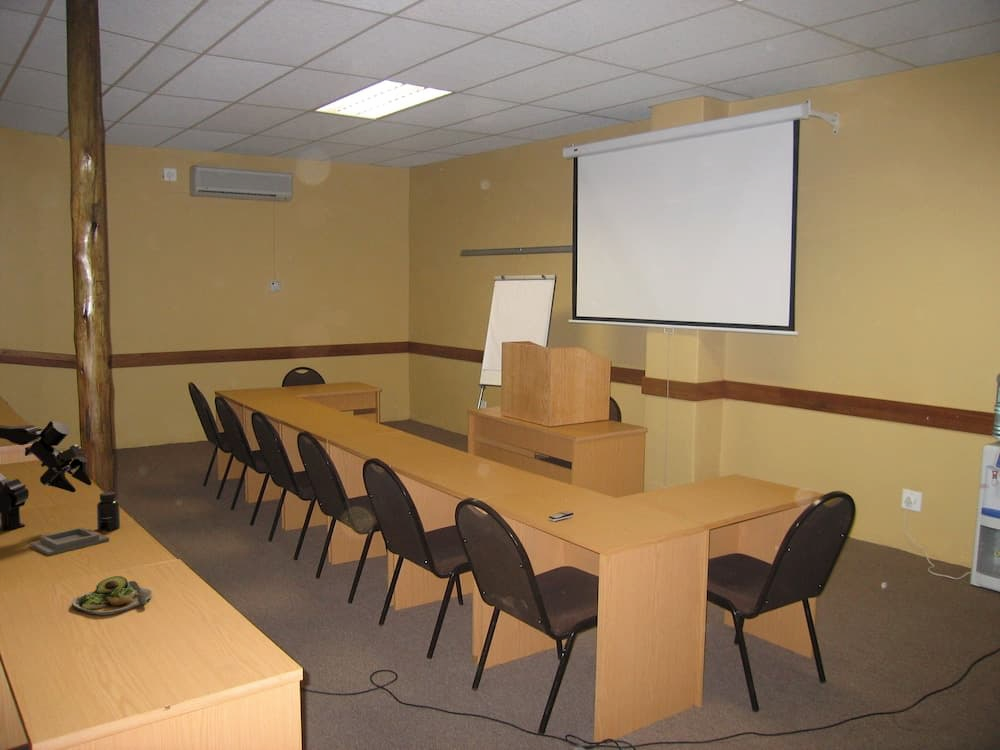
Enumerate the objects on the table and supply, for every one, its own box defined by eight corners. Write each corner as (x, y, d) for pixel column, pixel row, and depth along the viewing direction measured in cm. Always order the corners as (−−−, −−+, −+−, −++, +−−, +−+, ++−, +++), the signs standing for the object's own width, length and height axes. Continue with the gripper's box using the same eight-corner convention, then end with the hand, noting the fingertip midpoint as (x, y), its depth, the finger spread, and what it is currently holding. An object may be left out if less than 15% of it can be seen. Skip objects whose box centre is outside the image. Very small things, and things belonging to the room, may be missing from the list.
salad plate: (173, 599, 202) (172, 582, 202) (110, 624, 187) (109, 606, 186) (126, 585, 212) (125, 568, 211) (62, 608, 196) (61, 590, 196)
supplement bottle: (103, 532, 255) (101, 497, 254) (93, 529, 259) (91, 493, 258) (124, 527, 261) (122, 493, 259) (114, 524, 265) (112, 489, 263)
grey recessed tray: (29, 546, 242) (29, 538, 242) (89, 532, 256) (88, 524, 256) (48, 555, 233) (48, 547, 233) (109, 540, 247) (109, 533, 247)
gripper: (46, 444, 248) (82, 478, 248) (80, 433, 266) (113, 464, 267) (24, 468, 249) (60, 501, 249) (59, 455, 267) (92, 487, 268)
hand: (83, 487), depth 258 cm, fingers open, 9 cm apart
